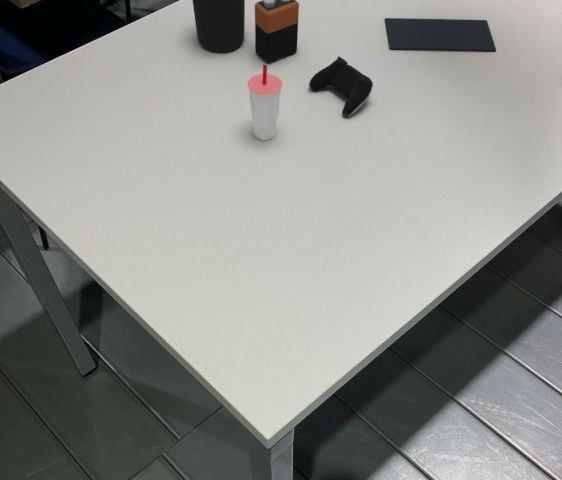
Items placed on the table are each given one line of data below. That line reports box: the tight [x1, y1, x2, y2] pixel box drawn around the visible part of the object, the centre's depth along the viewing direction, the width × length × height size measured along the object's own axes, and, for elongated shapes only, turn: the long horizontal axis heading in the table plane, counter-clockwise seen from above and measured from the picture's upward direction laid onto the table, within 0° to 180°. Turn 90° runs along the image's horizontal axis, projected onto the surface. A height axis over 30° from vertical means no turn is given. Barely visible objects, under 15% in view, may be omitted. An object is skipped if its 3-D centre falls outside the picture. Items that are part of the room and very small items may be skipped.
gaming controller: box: [308, 55, 374, 118], centre depth 107 cm, size 11×4×7 cm
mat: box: [384, 17, 497, 53], centre depth 118 cm, size 20×10×1 cm, turn 90°
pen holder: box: [192, 0, 246, 54], centre depth 112 cm, size 9×9×10 cm
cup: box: [247, 64, 283, 141], centre depth 98 cm, size 5×5×12 cm
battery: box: [254, 0, 300, 64], centre depth 110 cm, size 4×7×10 cm, turn 125°
